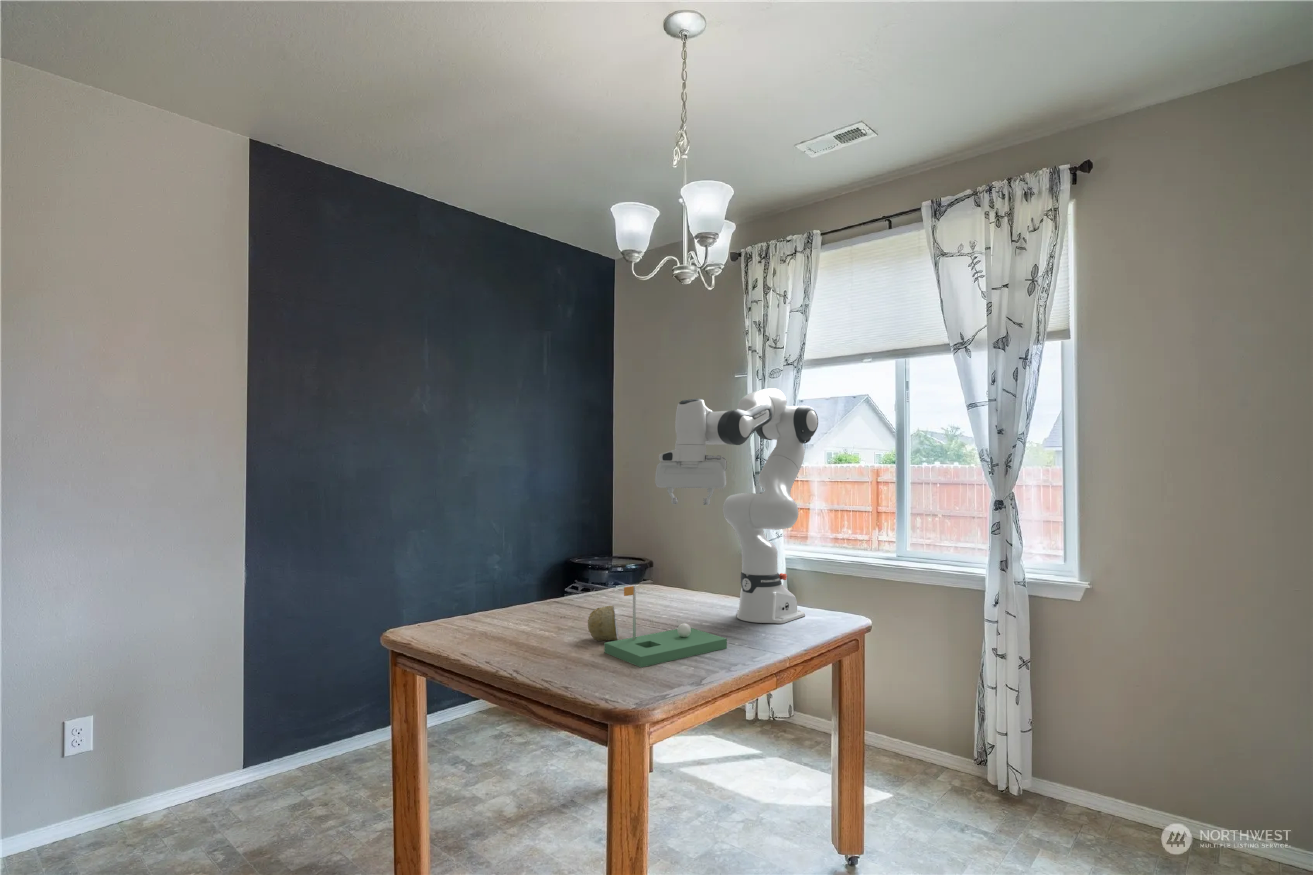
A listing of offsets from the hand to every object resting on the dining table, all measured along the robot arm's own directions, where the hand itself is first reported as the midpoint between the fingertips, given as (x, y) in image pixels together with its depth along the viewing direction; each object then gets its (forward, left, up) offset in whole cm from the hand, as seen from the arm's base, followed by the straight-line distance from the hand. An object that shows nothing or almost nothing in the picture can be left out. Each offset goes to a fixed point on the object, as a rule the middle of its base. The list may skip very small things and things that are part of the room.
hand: (690, 504), depth 195 cm
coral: (+21, -12, -37) cm, 44 cm away
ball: (+8, +7, -33) cm, 34 cm away
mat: (+14, +7, -37) cm, 40 cm away
